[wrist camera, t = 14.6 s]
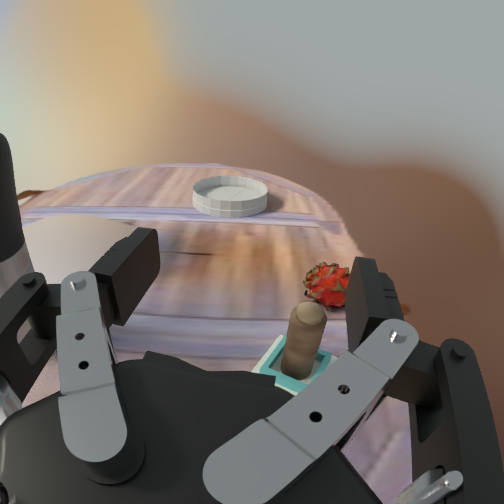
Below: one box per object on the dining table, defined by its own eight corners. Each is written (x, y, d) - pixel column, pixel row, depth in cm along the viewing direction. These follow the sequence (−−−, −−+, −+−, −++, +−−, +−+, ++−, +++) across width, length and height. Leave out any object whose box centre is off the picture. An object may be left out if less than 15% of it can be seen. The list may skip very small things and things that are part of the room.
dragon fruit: (293, 304, 60) (350, 312, 61) (306, 308, 51) (370, 316, 53) (300, 259, 61) (357, 269, 62) (314, 255, 52) (377, 267, 54)
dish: (217, 185, 109) (217, 171, 106) (278, 199, 101) (279, 184, 99) (177, 207, 91) (176, 191, 89) (246, 225, 84) (247, 207, 81)
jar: (274, 362, 44) (285, 303, 38) (300, 352, 46) (315, 295, 40) (290, 384, 41) (305, 327, 35) (317, 373, 42) (335, 316, 37)
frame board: (267, 485, 29) (270, 478, 28) (194, 444, 33) (192, 435, 32) (338, 363, 46) (342, 351, 44) (279, 339, 50) (281, 327, 48)
